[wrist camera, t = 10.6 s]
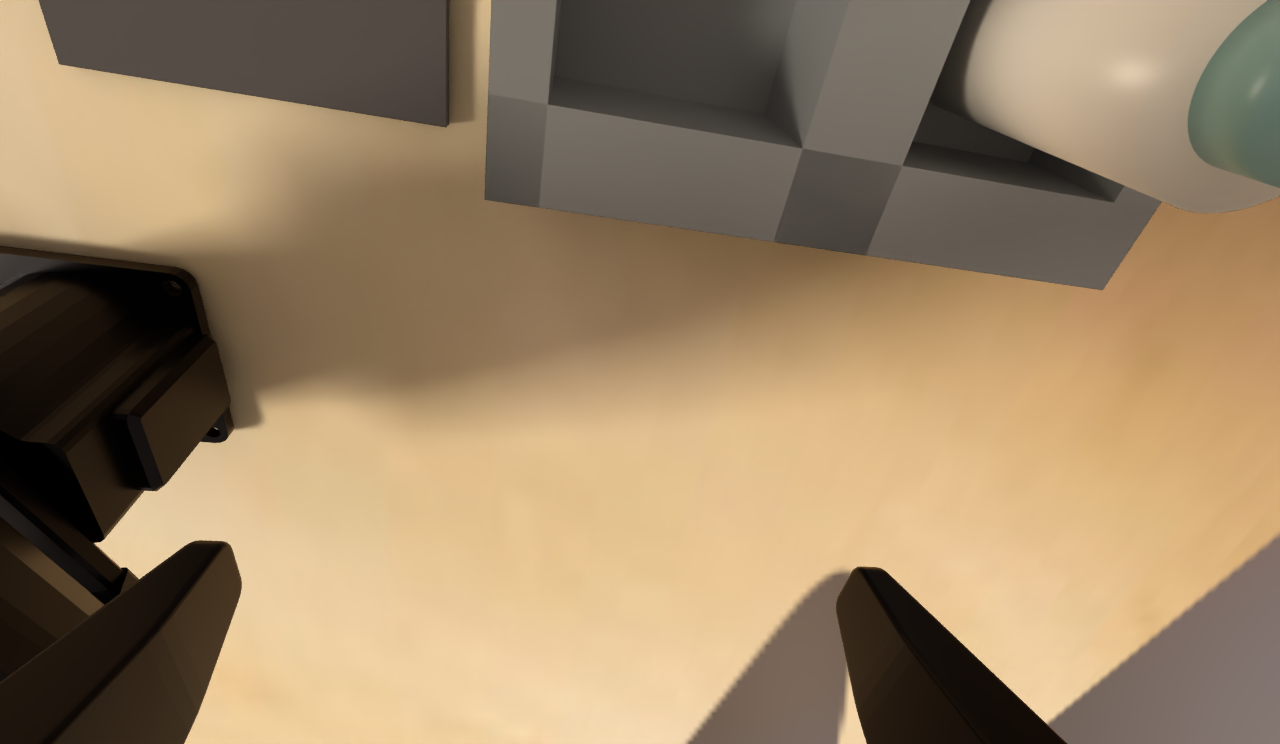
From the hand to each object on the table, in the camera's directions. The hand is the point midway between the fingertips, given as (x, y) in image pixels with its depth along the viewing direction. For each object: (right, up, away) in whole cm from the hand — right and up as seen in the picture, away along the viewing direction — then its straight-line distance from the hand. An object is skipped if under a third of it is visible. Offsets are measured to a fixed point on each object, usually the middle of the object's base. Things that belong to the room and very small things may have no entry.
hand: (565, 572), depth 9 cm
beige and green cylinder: (+10, +12, +7) cm, 17 cm away
